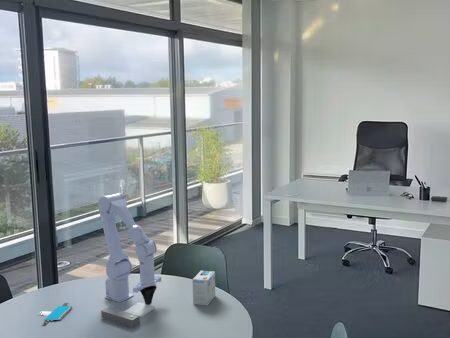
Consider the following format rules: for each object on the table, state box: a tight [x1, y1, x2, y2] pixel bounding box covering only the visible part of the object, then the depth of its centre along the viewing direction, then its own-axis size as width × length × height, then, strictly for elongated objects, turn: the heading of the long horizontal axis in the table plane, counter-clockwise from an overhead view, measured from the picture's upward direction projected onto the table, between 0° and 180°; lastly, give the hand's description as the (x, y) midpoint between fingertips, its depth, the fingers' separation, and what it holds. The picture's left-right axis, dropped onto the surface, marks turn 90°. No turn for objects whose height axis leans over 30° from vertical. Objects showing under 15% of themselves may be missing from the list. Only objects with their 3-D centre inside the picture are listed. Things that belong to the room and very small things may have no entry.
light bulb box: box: [192, 270, 216, 306], centre depth 194 cm, size 11×7×11 cm, turn 164°
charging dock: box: [100, 306, 141, 329], centre depth 177 cm, size 16×4×3 cm, turn 57°
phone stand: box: [39, 302, 73, 324], centre depth 184 cm, size 20×12×2 cm, turn 174°
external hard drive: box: [124, 302, 156, 319], centre depth 184 cm, size 2×8×12 cm
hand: (148, 303), depth 190 cm, fingers closed, pressing on external hard drive
